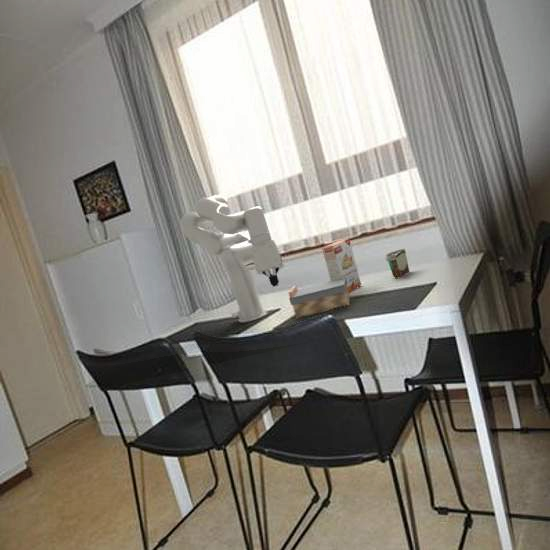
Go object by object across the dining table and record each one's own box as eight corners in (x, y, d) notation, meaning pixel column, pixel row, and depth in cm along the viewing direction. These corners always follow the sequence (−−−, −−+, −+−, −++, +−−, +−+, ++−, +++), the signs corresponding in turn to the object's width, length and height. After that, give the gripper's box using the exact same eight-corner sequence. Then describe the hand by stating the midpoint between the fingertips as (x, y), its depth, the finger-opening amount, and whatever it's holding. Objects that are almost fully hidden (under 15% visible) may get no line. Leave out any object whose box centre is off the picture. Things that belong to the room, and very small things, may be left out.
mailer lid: (291, 305, 171) (287, 293, 171) (297, 296, 186) (293, 285, 185) (345, 291, 167) (342, 279, 166) (347, 283, 181) (344, 272, 180)
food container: (397, 273, 201) (391, 251, 199) (410, 271, 197) (404, 248, 196) (386, 281, 191) (380, 257, 190) (400, 278, 187) (394, 255, 186)
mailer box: (296, 317, 173) (291, 300, 172) (301, 309, 185) (296, 292, 184) (349, 305, 168) (343, 286, 167) (350, 297, 181) (345, 280, 180)
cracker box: (347, 295, 186) (333, 245, 183) (334, 297, 190) (320, 248, 187) (362, 285, 196) (349, 237, 194) (350, 287, 200) (337, 240, 198)
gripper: (240, 246, 175) (255, 292, 177) (277, 234, 171) (292, 282, 173) (245, 244, 182) (259, 288, 184) (281, 233, 179) (295, 278, 180)
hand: (275, 285), depth 178 cm, fingers closed
